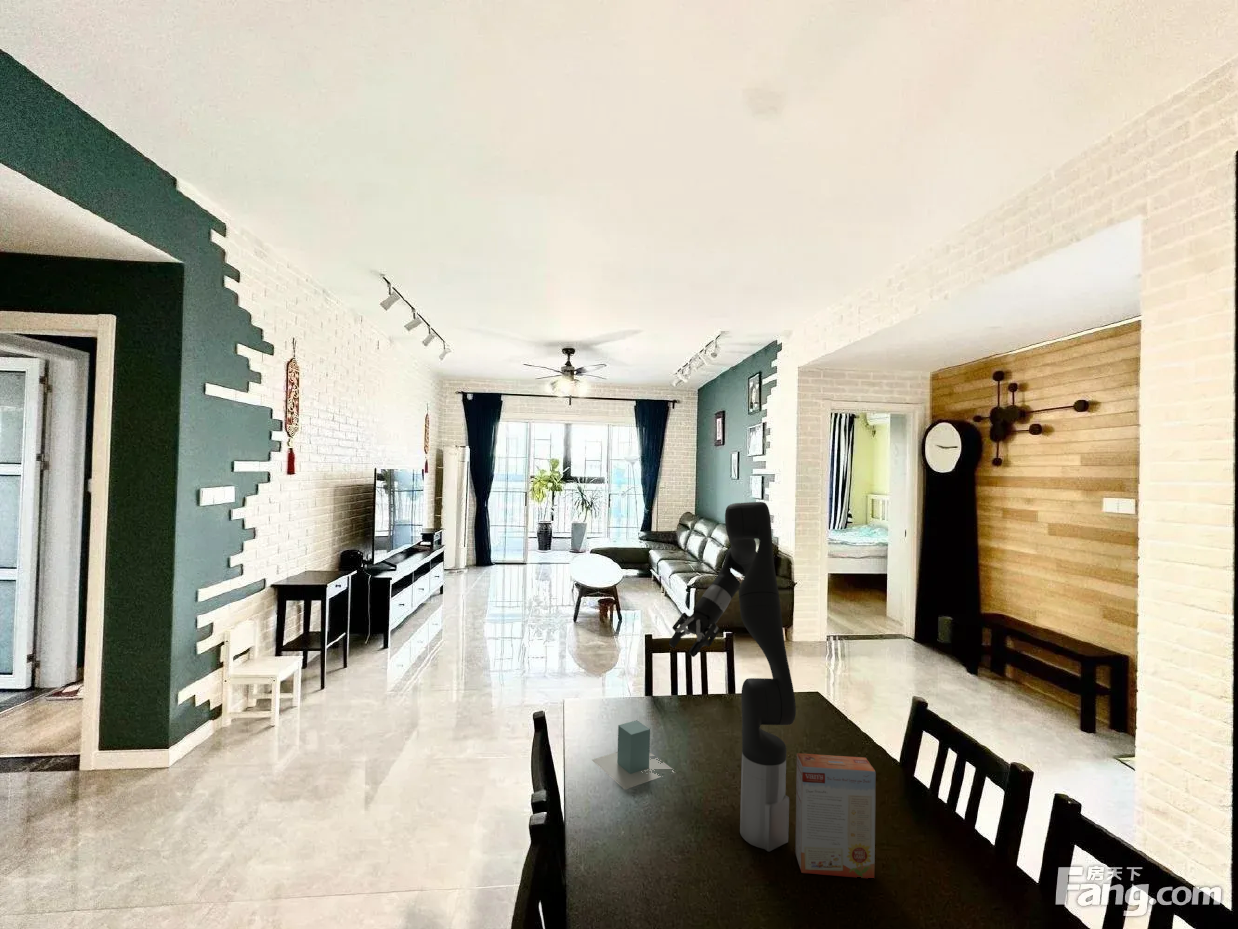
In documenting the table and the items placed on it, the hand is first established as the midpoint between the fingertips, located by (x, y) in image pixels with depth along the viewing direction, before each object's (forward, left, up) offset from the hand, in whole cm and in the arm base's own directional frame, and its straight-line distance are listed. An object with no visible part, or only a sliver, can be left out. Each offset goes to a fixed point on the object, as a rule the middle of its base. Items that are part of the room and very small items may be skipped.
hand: (680, 650), depth 155 cm
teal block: (0, +15, -28) cm, 32 cm away
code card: (0, +15, -28) cm, 32 cm away
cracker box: (-51, +2, -28) cm, 58 cm away
